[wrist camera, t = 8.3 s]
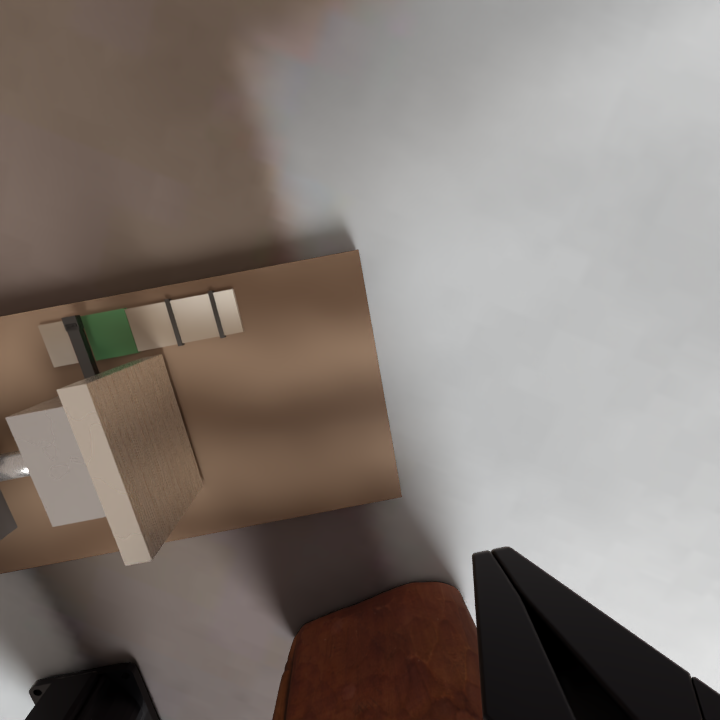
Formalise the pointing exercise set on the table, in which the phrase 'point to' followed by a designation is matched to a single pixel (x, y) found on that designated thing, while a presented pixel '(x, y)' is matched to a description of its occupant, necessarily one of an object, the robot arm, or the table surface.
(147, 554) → the gauge carriage
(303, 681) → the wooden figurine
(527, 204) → the table surface
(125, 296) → the gauge base
